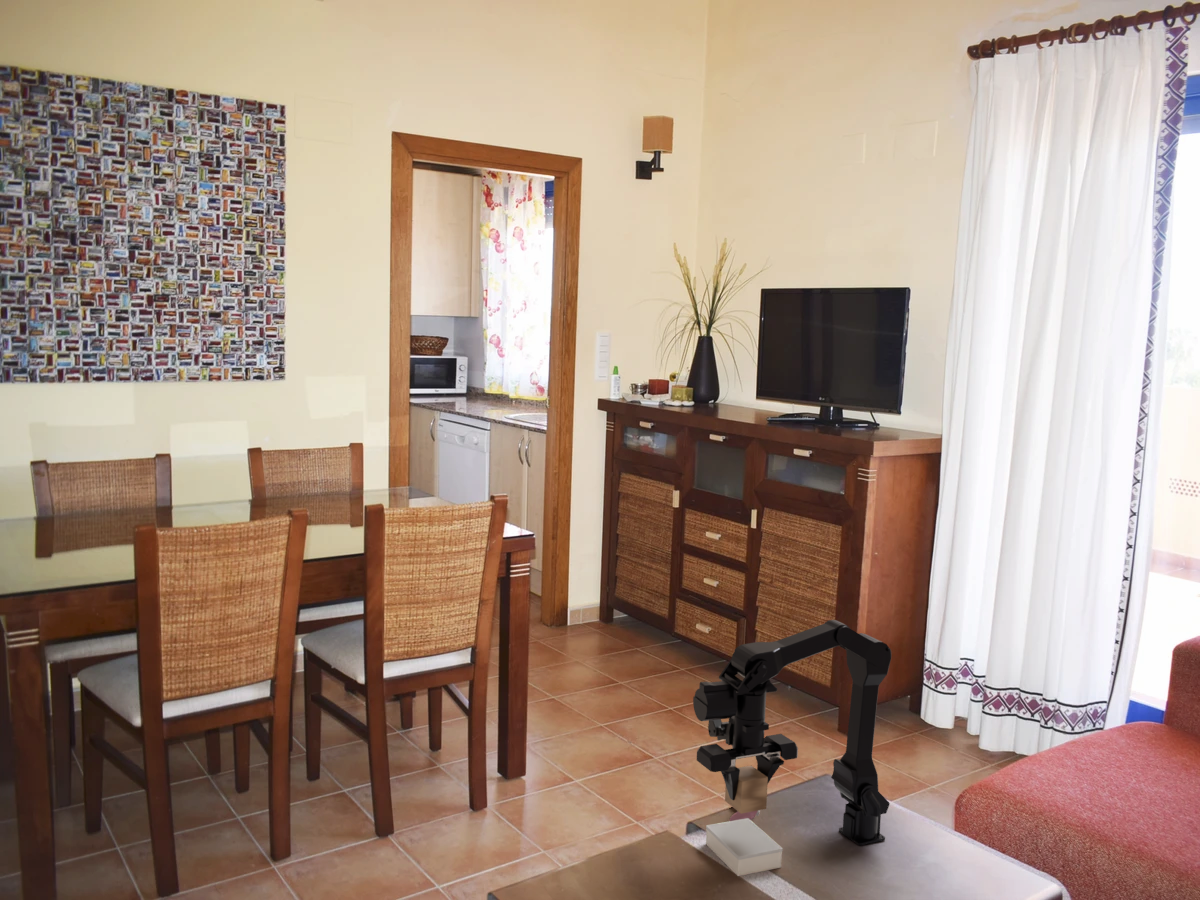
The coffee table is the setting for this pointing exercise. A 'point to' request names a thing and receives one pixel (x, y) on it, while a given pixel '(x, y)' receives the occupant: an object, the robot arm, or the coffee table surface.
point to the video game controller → (744, 815)
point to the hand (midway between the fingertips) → (745, 796)
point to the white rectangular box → (743, 846)
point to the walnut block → (749, 791)
